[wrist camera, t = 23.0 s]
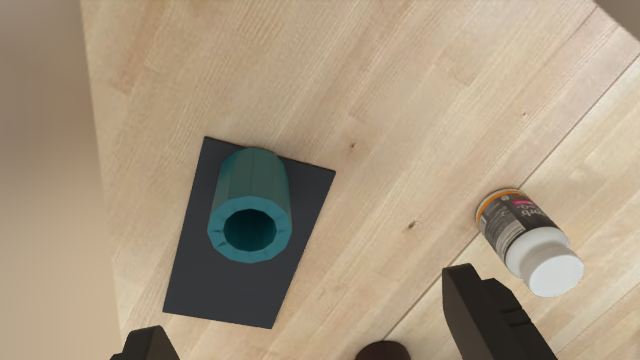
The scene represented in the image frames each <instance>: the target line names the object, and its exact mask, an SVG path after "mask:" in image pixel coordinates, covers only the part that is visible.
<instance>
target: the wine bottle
mask: <svg viewBox="0 0 640 360" xmlns="http://www.w3.org/2000/svg"><path fill="white" fill-rule="evenodd" d="M356 360H411V357H410V355H409V353H408V351H407V350H406V349H405V348H404V347H403V346H402V345H400V344H398V343H395V342H379V343H375V344H372V345H370V346H368V347H366V348H364V349H363V350H362V351H361V352H360V353H359V354H358V355H357V357H356Z"/></svg>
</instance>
